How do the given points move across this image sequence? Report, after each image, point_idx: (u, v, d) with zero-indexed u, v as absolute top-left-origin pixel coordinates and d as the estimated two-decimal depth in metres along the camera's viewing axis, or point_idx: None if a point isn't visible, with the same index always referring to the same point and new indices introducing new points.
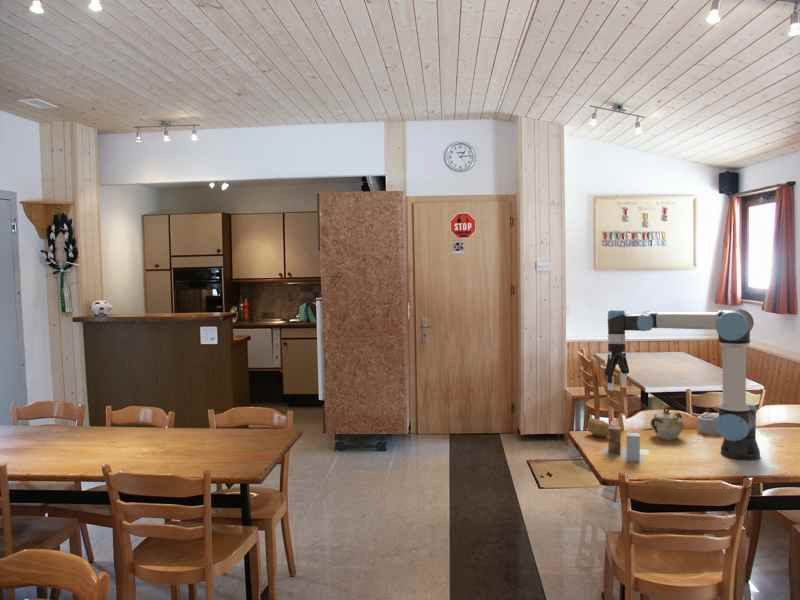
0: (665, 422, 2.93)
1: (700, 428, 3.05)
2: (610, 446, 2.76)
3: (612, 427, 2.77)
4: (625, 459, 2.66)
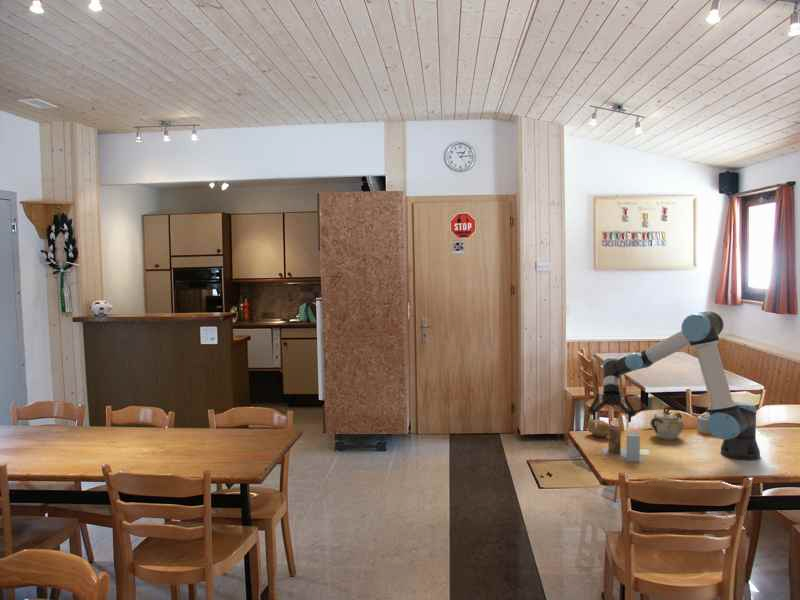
0: (665, 422, 2.93)
1: (700, 428, 3.05)
2: (610, 446, 2.76)
3: (612, 427, 2.77)
4: (625, 459, 2.66)
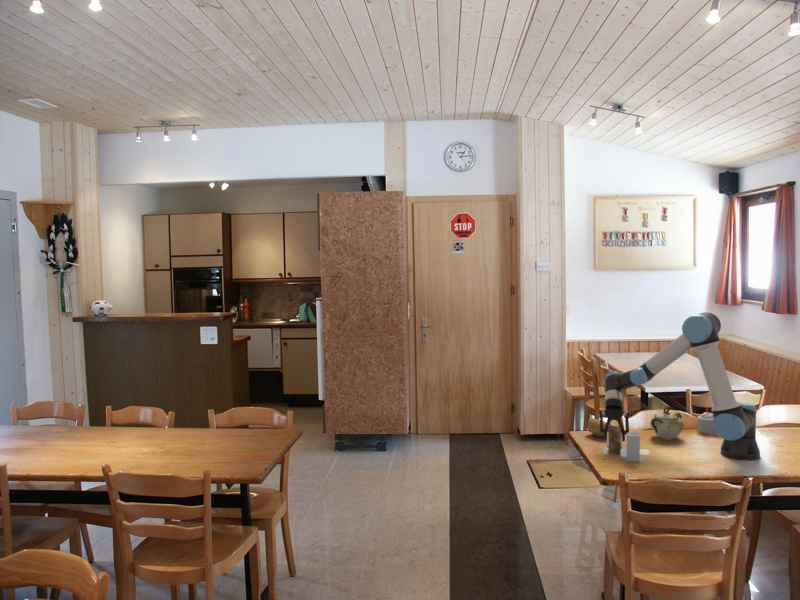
0: (665, 422, 2.93)
1: (700, 428, 3.05)
2: (610, 446, 2.76)
3: (612, 427, 2.77)
4: (625, 459, 2.66)
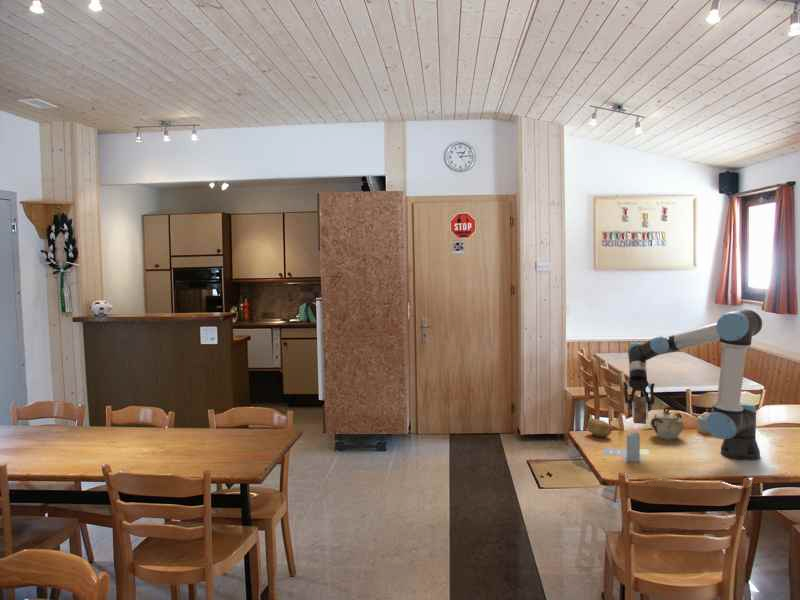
0: (665, 422, 2.93)
1: (700, 428, 3.05)
2: (635, 416, 2.74)
3: (637, 397, 2.76)
4: (625, 459, 2.66)
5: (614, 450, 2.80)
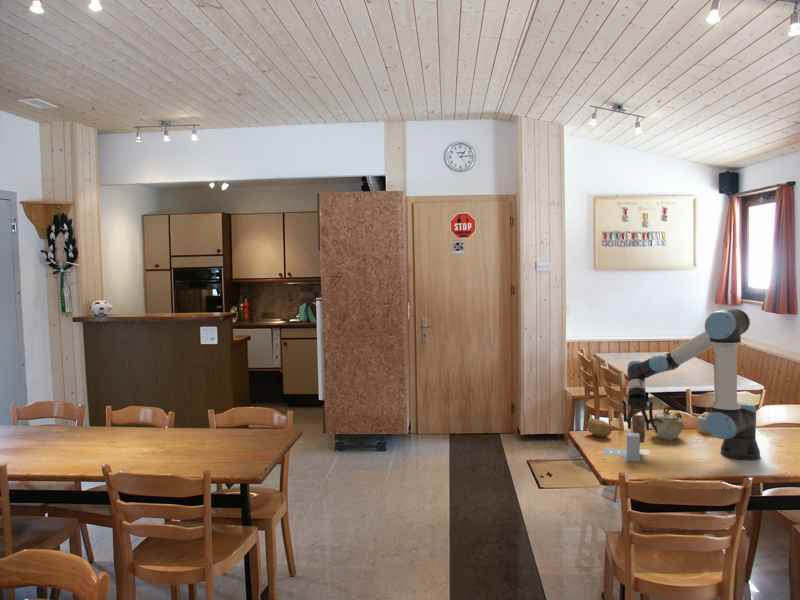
0: (665, 422, 2.93)
1: (700, 428, 3.06)
2: None
3: (636, 416, 2.77)
4: (625, 459, 2.66)
5: (614, 450, 2.80)
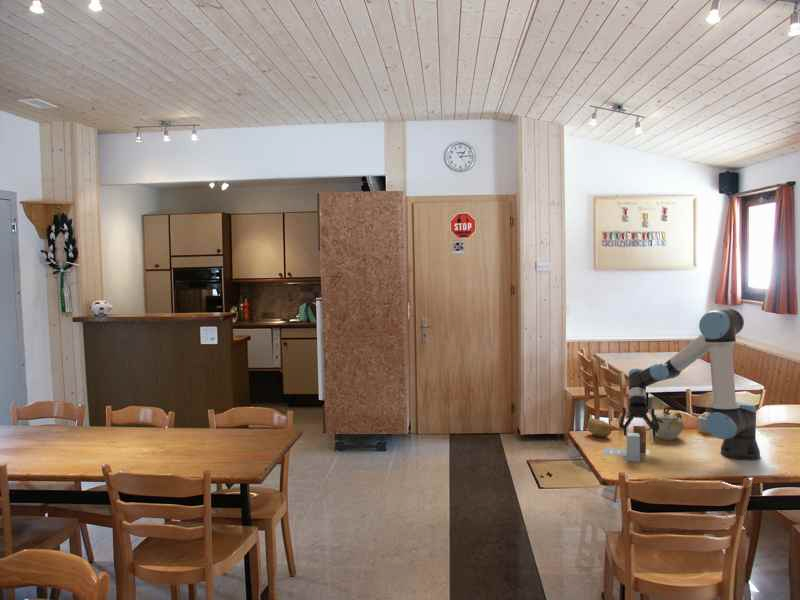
0: (665, 422, 2.93)
1: (701, 427, 3.06)
2: None
3: (637, 427, 2.77)
4: (625, 459, 2.66)
5: (614, 450, 2.80)
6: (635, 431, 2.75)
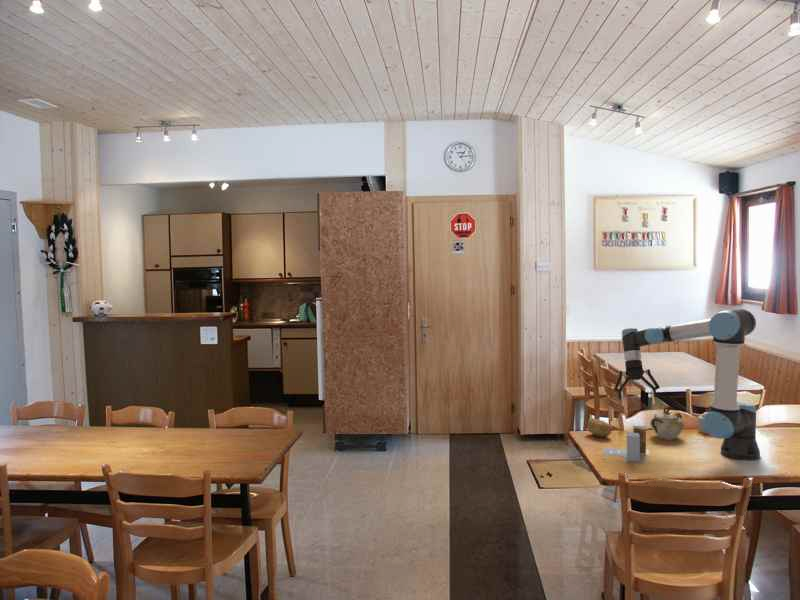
0: (665, 422, 2.93)
1: (701, 427, 3.06)
2: None
3: (637, 427, 2.77)
4: (625, 459, 2.66)
5: (614, 450, 2.80)
6: (635, 431, 2.75)
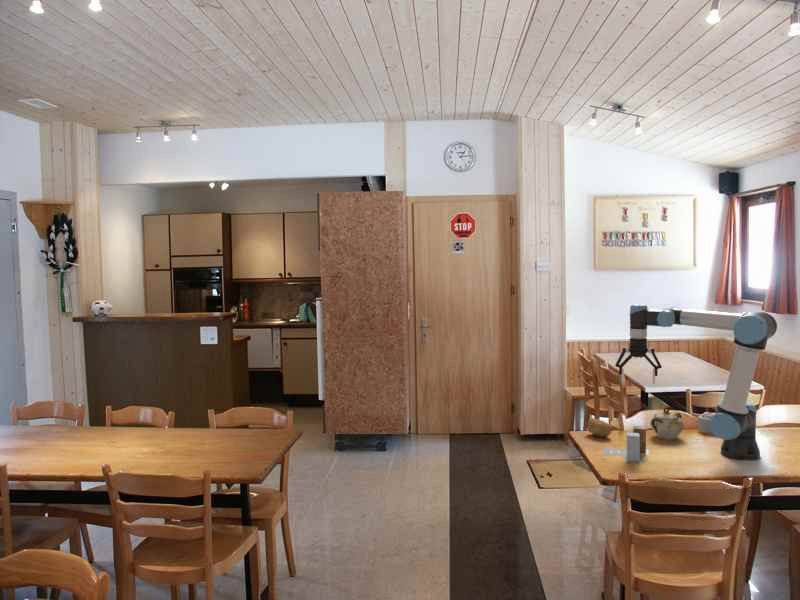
0: (665, 422, 2.93)
1: (701, 427, 3.06)
2: None
3: (637, 427, 2.77)
4: (625, 459, 2.66)
5: (614, 450, 2.80)
6: (635, 431, 2.75)
